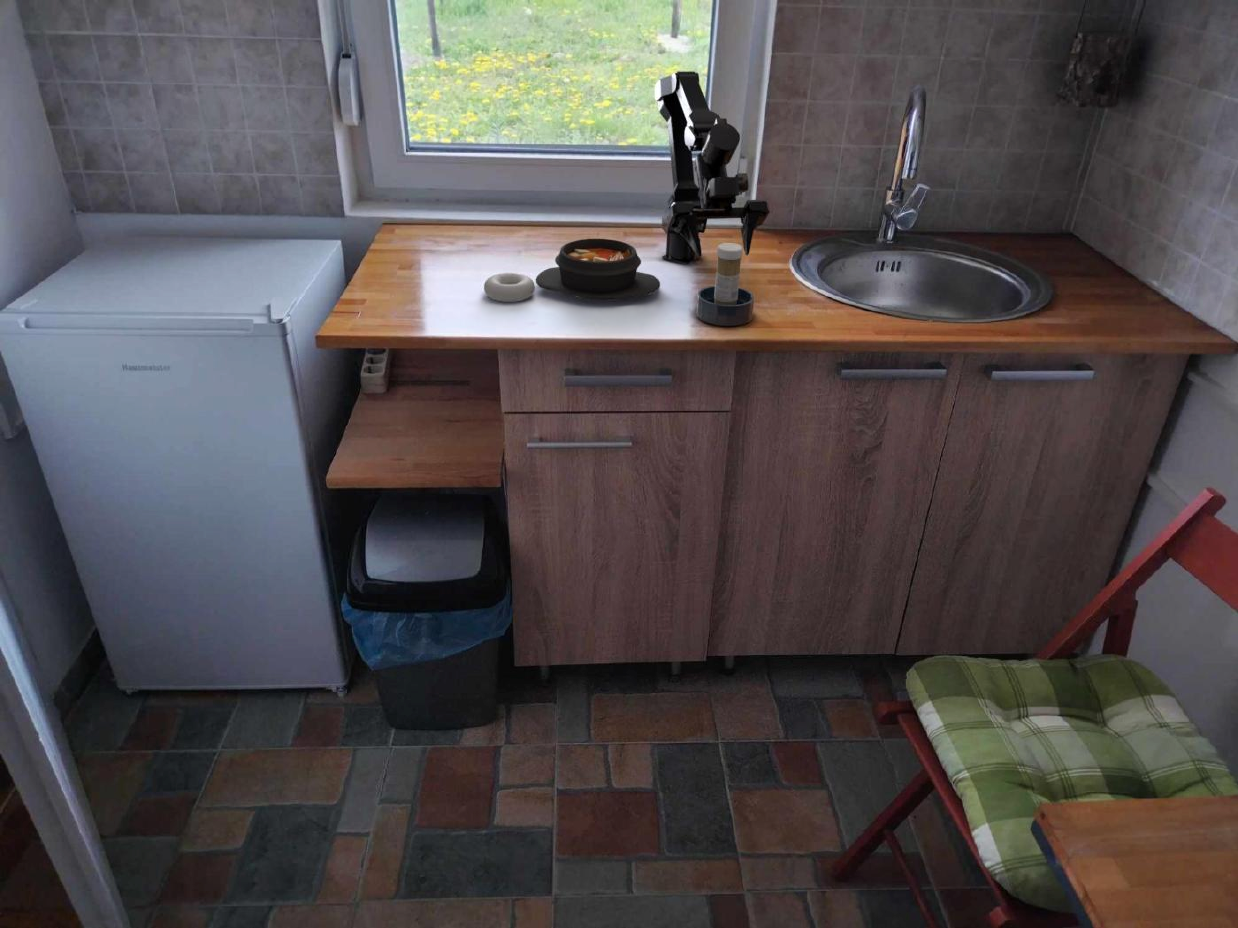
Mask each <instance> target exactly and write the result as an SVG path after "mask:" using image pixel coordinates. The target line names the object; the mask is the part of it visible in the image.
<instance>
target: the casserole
mask: <svg viewBox="0 0 1238 928" xmlns="http://www.w3.org/2000/svg"><path fill="white" fill-rule="evenodd" d="M554 262H555V264H556V265H557V266H554V267H549V268H546V269H544V270H543V271H541V272H539V274H538V275H537V276H535V277H536V278H535V284H536V285H537V286H538V287H539V288H541V289H545V290H548V291H554V292H559V293H563V294H566V295H568V296H572V297H576V298H580V299H585V300H592V301H594V300H595V301H603V300H604V301H606V300H614V299H620V298H629V297H630V298H633V297H646V296H649V295H652V294H654V293H656V292H657V291H658V290H659V289H660V287H661V282H660V280H659V279H658V278H657V277H656V276H655V275H653V274H650V273H645V272H641V271H638V268H639V267H640V265H641V264H642V259H641V258H640V257H639V255H638V253H637V249H636V248H635V247H634V246H633V245H631V244H629V243H627V242H624V241H621V240H615V239H608V238H584V239H583V238H582V239H577V240H573V241H570V242H567V243H565V244H564V245H562V246H561V247H560V250H559V252H558V255H556V257H555V259H554Z"/></svg>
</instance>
